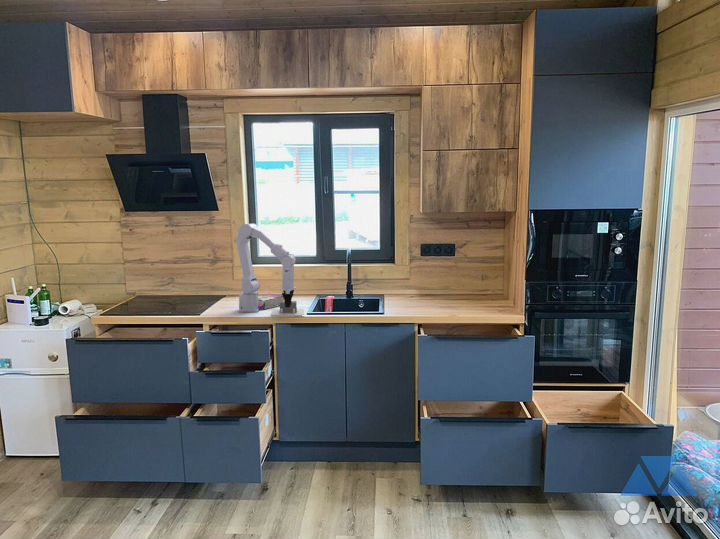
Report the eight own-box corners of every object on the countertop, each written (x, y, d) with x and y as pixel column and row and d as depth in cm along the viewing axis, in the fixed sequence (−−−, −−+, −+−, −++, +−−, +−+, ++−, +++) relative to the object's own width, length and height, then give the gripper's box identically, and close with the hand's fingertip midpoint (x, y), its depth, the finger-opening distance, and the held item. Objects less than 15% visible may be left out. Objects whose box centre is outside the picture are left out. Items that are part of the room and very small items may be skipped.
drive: (279, 312, 269) (279, 302, 268) (280, 310, 273) (280, 300, 273) (296, 312, 270) (296, 302, 269) (296, 310, 274) (296, 300, 273)
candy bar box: (268, 302, 298) (247, 307, 284) (268, 293, 297) (247, 297, 283) (284, 305, 292) (264, 309, 278) (284, 296, 292) (264, 300, 278)
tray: (270, 316, 264) (270, 309, 264) (272, 310, 278) (272, 304, 277) (303, 316, 265) (304, 309, 265) (304, 310, 279) (304, 304, 279)
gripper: (296, 281, 262) (295, 308, 264) (296, 276, 277) (296, 302, 279) (281, 281, 262) (281, 308, 264) (282, 276, 276) (282, 302, 278)
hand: (288, 305), depth 271 cm, fingers open, 7 cm apart
